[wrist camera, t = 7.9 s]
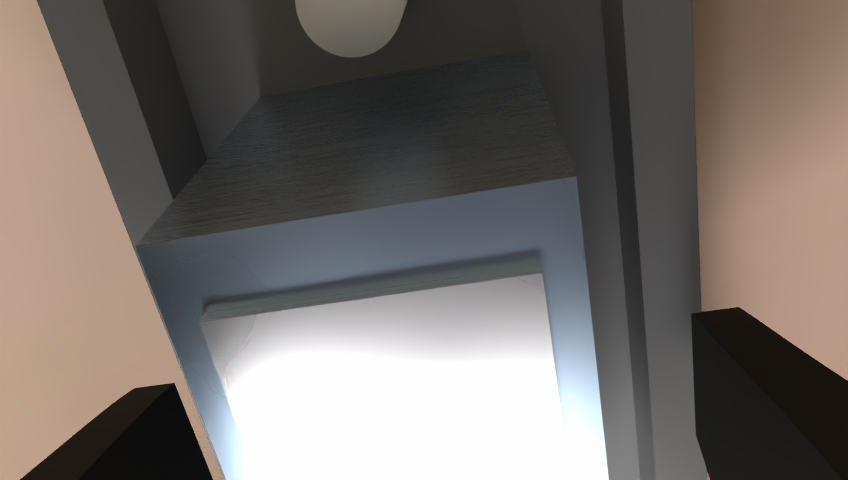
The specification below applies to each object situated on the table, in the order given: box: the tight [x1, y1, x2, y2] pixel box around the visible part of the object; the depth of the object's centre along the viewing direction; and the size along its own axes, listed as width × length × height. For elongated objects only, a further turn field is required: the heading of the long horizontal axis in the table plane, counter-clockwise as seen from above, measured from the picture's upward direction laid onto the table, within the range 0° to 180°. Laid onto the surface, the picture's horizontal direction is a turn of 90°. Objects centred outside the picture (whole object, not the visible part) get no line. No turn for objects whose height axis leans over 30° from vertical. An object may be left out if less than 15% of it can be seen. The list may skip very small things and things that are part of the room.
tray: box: [37, 0, 707, 480], centre depth 12 cm, size 13×8×3 cm, turn 10°
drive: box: [135, 49, 609, 480], centre depth 11 cm, size 8×4×5 cm, turn 11°
